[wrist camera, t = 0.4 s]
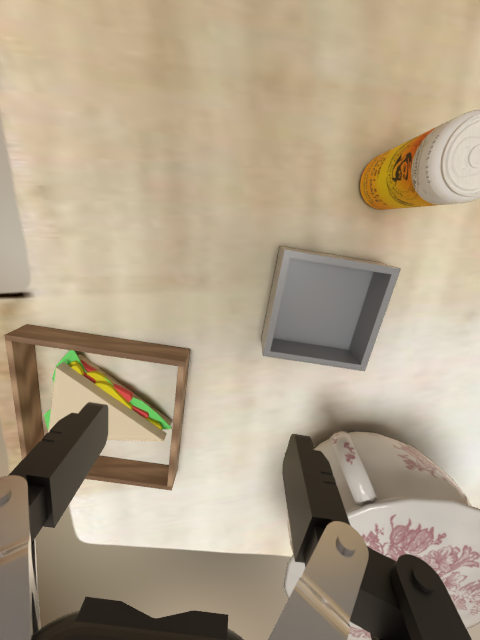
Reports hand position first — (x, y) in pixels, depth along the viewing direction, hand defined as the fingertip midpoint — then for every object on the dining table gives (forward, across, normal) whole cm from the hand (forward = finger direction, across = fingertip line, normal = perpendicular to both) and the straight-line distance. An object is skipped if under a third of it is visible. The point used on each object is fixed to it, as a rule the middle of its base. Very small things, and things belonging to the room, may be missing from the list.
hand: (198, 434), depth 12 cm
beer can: (+28, -16, -16) cm, 36 cm away
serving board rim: (+28, +16, +23) cm, 39 cm away
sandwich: (+28, +16, +23) cm, 40 cm away
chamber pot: (+28, -26, +28) cm, 47 cm away
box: (+28, -12, 0) cm, 30 cm away
